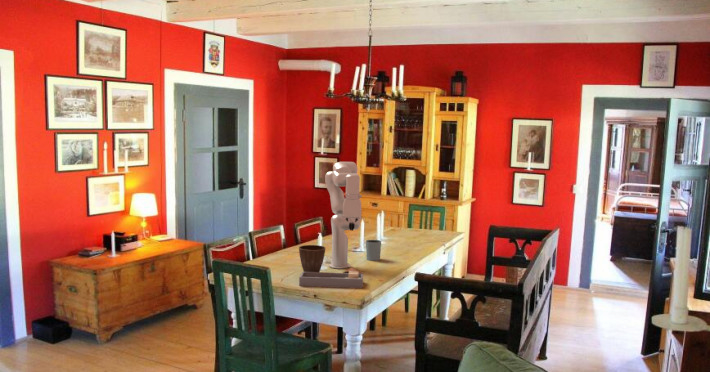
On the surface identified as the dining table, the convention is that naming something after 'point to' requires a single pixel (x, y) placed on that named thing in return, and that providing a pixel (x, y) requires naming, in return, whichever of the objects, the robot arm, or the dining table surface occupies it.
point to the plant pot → (311, 257)
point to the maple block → (353, 275)
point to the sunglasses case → (353, 271)
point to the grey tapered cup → (373, 250)
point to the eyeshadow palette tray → (329, 280)
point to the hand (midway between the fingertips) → (351, 230)
